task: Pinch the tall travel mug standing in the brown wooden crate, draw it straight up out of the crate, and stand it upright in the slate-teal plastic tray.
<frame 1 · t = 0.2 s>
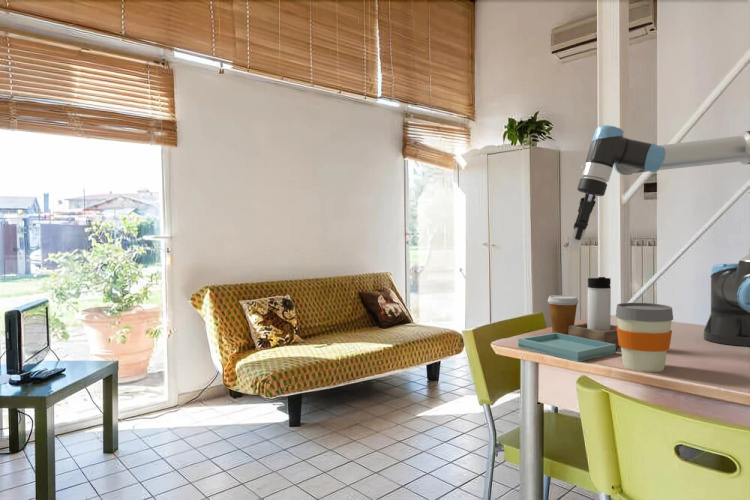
hand: (572, 251, 152), 28 cm above the table, tool tilted 15°, fingers open, 13 cm apart
brown wooden crate: (598, 343, 153), on the table
reusable coffee cup: (643, 367, 127), on the table
travel mug: (598, 344, 153), resting in brown wooden crate
tray: (565, 350, 146), on the table
disposable coffee cup: (562, 334, 169), on the table
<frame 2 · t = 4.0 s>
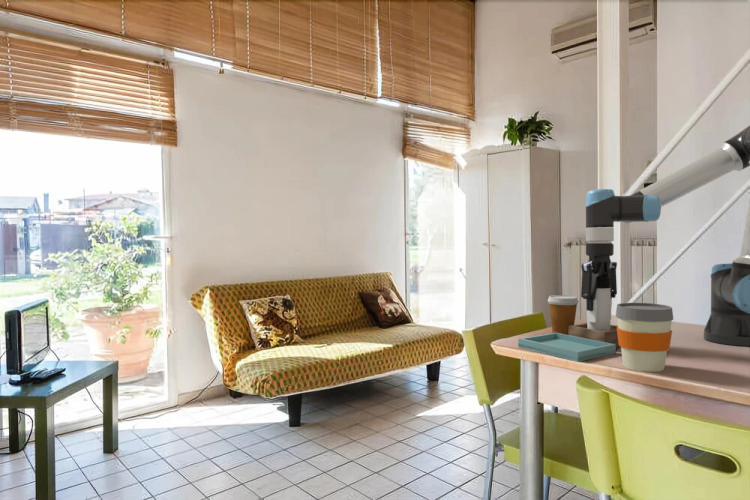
hand: (599, 320, 153), 7 cm above the table, tool pointing down, fingers closed on travel mug, 6 cm apart
travel mug: (598, 344, 153), resting in brown wooden crate, touching gripper
everything else where it was.
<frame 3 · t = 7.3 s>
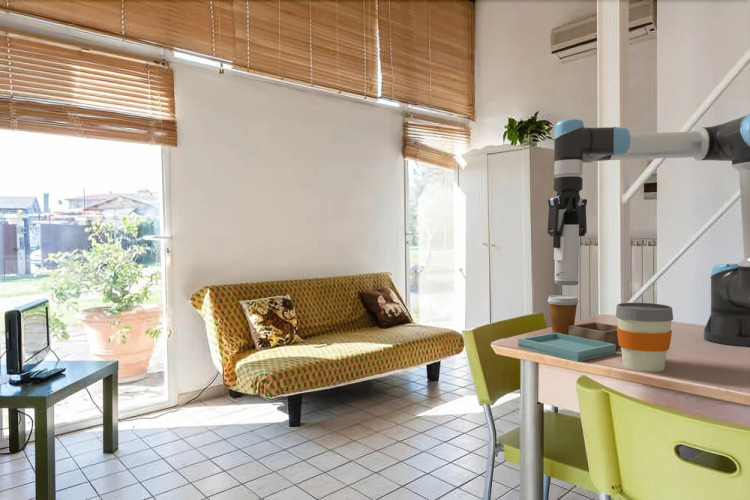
hand: (567, 259, 145), 25 cm above the table, tool pointing down, fingers closed on travel mug, 6 cm apart
travel mug: (566, 285, 146), point 18 cm above the table, touching gripper
everything else where it was.
when the fingers open (10 cm above the table, at t = 11.0 s): travel mug drops 2 cm, resting on tray.
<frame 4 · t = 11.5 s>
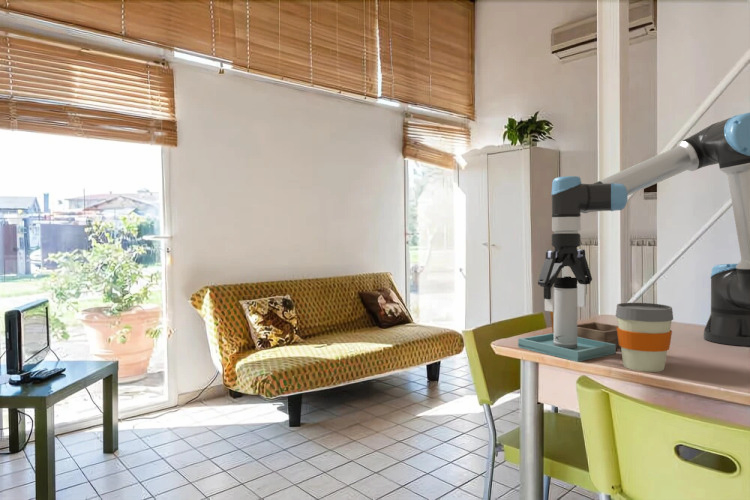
hand: (565, 309, 145), 12 cm above the table, tool pointing down, fingers open, 13 cm apart
travel mug: (565, 347, 146), point 1 cm above the table, touching tray
everything else where it was.
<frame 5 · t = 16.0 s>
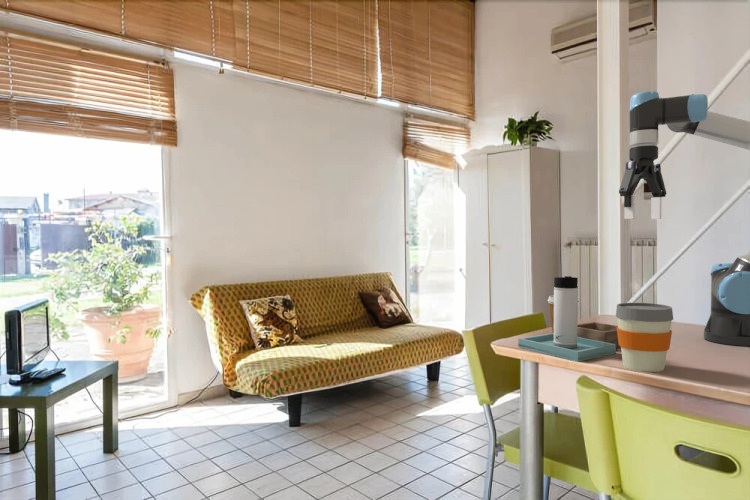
hand: (643, 219, 153), 37 cm above the table, tool pointing down, fingers open, 13 cm apart
nothing on the table moved.
at the end: travel mug inside the target area on the tray (0.1 cm from its centre), point 0.8 cm above the tray's base; travel mug tilted 0°; the gripper is holding nothing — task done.
